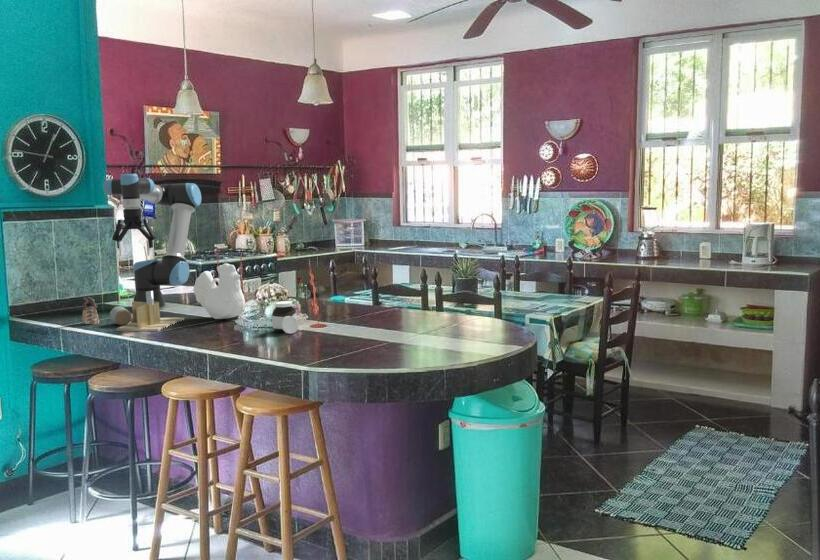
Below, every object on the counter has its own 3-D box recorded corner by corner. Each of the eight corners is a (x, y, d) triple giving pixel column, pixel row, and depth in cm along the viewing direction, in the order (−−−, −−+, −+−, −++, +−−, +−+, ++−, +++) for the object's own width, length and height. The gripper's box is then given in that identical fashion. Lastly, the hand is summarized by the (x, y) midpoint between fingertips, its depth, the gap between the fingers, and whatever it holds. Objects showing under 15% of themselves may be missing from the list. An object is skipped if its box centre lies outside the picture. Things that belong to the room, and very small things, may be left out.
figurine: (102, 323, 346) (100, 296, 344) (87, 325, 341) (85, 298, 339) (94, 321, 350) (92, 295, 349) (79, 324, 345) (76, 297, 343)
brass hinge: (134, 321, 341) (133, 301, 340) (164, 321, 339) (162, 301, 337) (116, 328, 326) (114, 307, 325) (146, 328, 324) (145, 307, 323)
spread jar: (285, 327, 320) (283, 300, 319) (307, 329, 315) (306, 301, 313) (267, 333, 310) (265, 305, 308) (290, 335, 305) (288, 306, 303)
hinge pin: (150, 322, 337) (147, 290, 335) (157, 322, 336) (154, 290, 334) (147, 324, 334) (144, 292, 332) (153, 324, 333) (150, 291, 331)
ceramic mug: (115, 326, 335) (114, 309, 334) (110, 324, 342) (108, 307, 341) (140, 323, 342) (139, 306, 341) (134, 321, 348) (133, 304, 347)
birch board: (144, 319, 350) (144, 317, 349) (184, 319, 346) (184, 317, 346) (116, 330, 326) (116, 328, 326) (158, 330, 323) (158, 328, 323)
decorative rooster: (254, 316, 348) (250, 261, 344) (227, 323, 335) (223, 266, 332) (216, 312, 362) (212, 259, 359) (189, 318, 349) (185, 263, 346)
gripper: (101, 209, 347) (106, 256, 350) (153, 208, 342) (157, 255, 345) (110, 208, 354) (115, 254, 357) (161, 207, 350) (165, 254, 353)
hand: (135, 255), depth 351 cm, fingers open, 13 cm apart
